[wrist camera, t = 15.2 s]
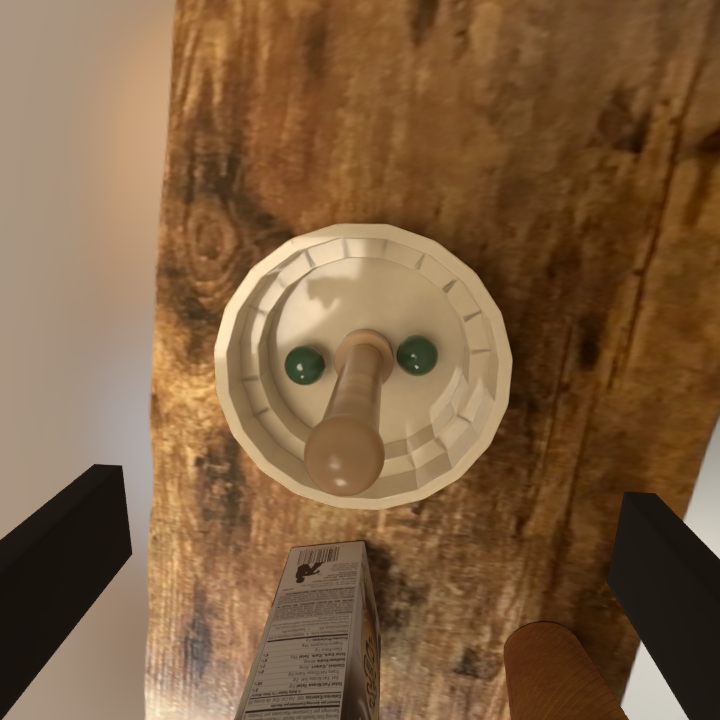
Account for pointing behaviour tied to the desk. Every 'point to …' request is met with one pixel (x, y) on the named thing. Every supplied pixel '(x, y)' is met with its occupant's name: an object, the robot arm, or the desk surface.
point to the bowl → (394, 321)
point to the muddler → (352, 418)
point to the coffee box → (318, 641)
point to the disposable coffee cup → (555, 677)
